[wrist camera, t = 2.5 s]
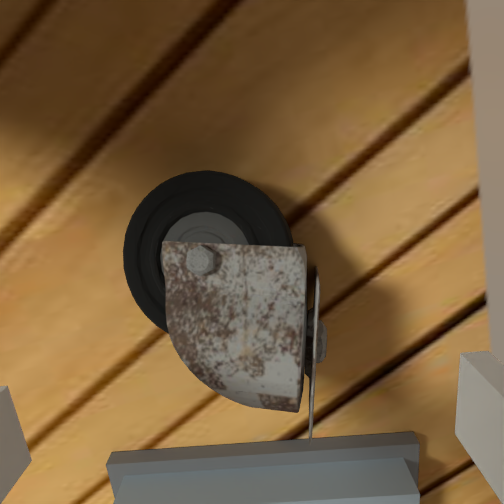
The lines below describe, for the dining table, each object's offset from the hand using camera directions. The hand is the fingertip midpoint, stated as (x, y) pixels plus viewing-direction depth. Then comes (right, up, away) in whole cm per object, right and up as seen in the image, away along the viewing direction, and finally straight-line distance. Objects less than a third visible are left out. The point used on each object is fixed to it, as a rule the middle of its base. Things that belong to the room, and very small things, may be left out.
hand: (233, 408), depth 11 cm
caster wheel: (-1, +3, +10) cm, 11 cm away
